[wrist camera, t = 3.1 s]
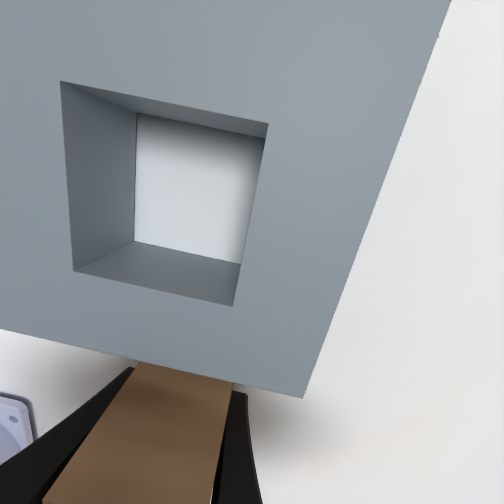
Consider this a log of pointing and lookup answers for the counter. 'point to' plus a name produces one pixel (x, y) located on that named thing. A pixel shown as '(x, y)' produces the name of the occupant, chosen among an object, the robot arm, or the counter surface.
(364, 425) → the counter surface
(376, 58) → the socket block
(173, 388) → the square peg
